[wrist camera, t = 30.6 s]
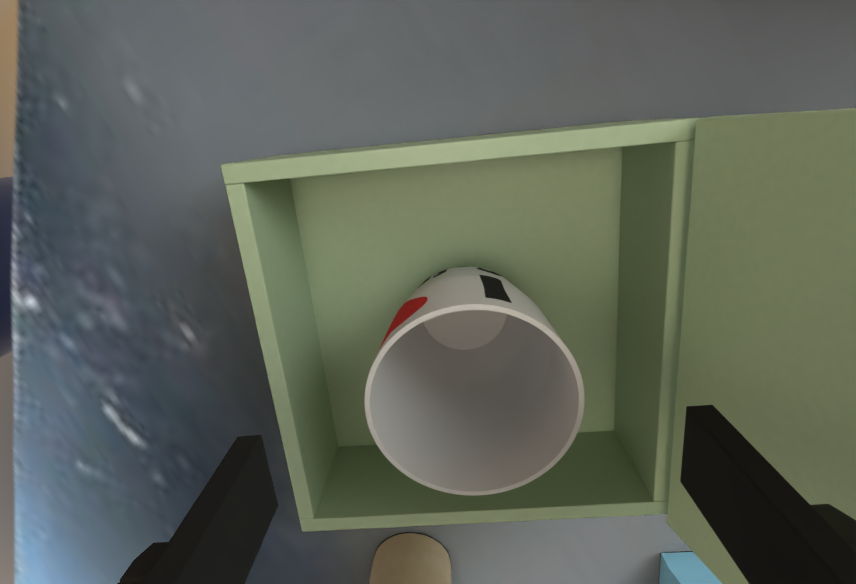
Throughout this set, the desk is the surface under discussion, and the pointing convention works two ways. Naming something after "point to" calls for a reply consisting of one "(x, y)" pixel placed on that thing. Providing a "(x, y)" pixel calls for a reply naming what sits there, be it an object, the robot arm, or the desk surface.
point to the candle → (411, 561)
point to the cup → (473, 386)
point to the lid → (771, 306)
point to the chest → (485, 248)
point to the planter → (684, 569)
